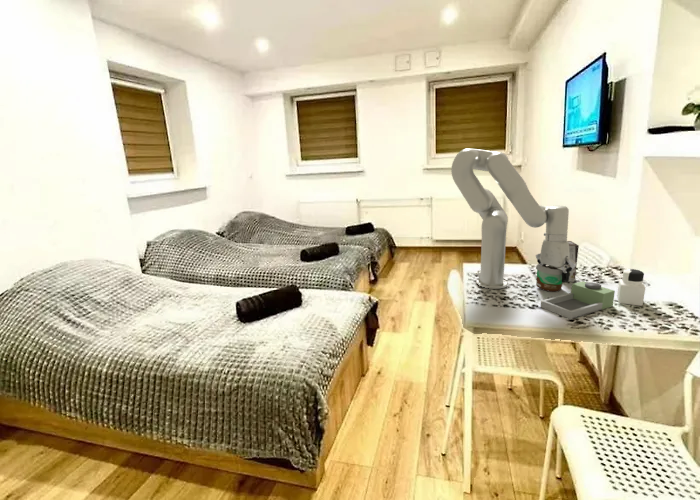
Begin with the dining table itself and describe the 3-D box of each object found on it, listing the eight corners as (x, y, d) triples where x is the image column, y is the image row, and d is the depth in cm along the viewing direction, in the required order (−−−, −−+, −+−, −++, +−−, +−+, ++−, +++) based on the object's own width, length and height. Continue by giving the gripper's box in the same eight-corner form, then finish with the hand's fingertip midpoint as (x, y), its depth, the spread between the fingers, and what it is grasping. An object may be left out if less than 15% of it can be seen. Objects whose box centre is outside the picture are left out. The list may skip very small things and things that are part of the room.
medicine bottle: (639, 299, 140) (644, 268, 137) (642, 306, 134) (647, 274, 131) (616, 296, 144) (620, 266, 141) (618, 303, 138) (622, 272, 135)
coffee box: (575, 281, 161) (579, 245, 157) (559, 281, 162) (562, 245, 158) (568, 275, 170) (571, 240, 166) (552, 274, 171) (555, 240, 167)
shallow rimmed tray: (540, 306, 138) (542, 289, 136) (581, 295, 146) (583, 278, 144) (570, 319, 127) (572, 299, 125) (612, 306, 135) (615, 288, 134)
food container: (536, 292, 151) (541, 269, 148) (532, 285, 157) (536, 263, 153) (569, 293, 149) (574, 271, 146) (563, 287, 155) (568, 264, 151)
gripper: (530, 235, 154) (529, 275, 158) (569, 242, 138) (567, 286, 142) (543, 232, 157) (542, 271, 161) (583, 239, 141) (580, 282, 145)
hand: (554, 278), depth 152 cm, fingers open, 9 cm apart
